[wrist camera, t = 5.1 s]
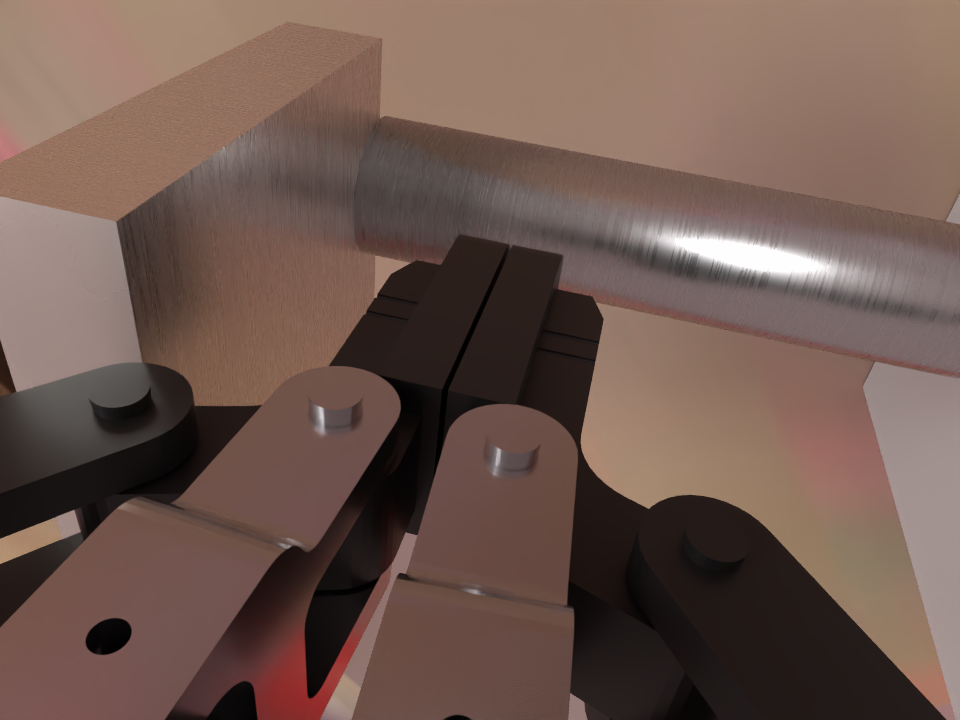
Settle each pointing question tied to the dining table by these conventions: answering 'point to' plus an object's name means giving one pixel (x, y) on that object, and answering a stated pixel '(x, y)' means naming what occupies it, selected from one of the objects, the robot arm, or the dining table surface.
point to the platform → (5, 372)
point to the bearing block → (926, 488)
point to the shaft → (404, 232)
